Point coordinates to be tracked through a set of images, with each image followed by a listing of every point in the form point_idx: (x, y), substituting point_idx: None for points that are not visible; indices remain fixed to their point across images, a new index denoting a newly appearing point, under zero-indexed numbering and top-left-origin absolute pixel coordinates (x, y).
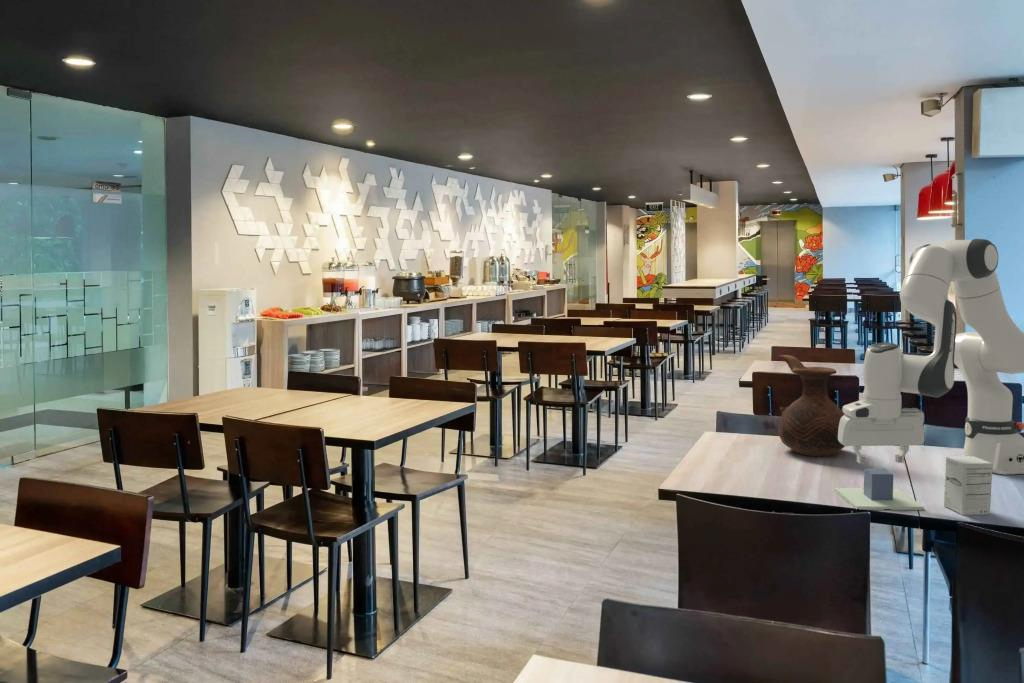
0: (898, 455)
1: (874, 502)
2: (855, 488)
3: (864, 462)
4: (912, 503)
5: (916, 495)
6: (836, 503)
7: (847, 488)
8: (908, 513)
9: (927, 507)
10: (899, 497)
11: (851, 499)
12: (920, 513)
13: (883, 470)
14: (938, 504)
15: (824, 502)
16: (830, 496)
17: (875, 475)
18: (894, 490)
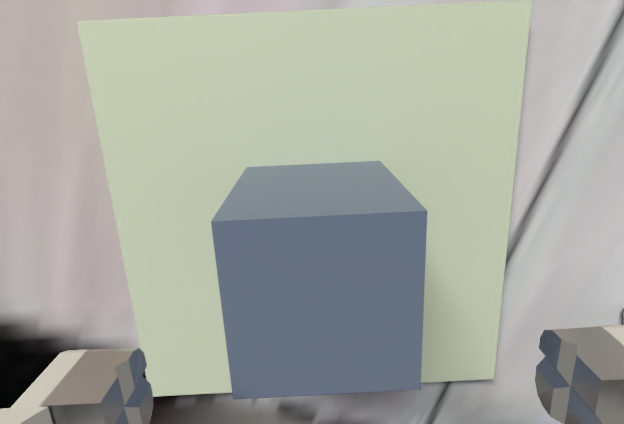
0: (621, 421)
1: None
2: (227, 23)
3: (142, 417)
4: (461, 331)
5: (598, 98)
6: (68, 293)
7: (168, 30)
8: (387, 416)
9: (527, 325)
10: (443, 225)
11: (146, 283)
12: (443, 412)
13: (383, 272)
14: (616, 272)
15: (3, 280)
16: (47, 158)
17: (263, 390)
18: (485, 64)
